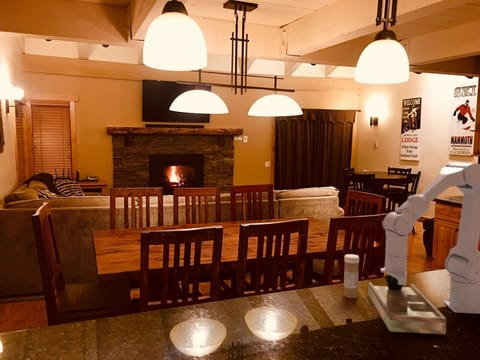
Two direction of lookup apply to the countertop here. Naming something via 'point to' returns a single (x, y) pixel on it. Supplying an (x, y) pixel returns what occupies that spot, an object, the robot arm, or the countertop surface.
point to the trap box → (409, 312)
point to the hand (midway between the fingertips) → (394, 300)
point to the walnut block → (397, 301)
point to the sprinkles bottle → (351, 276)
